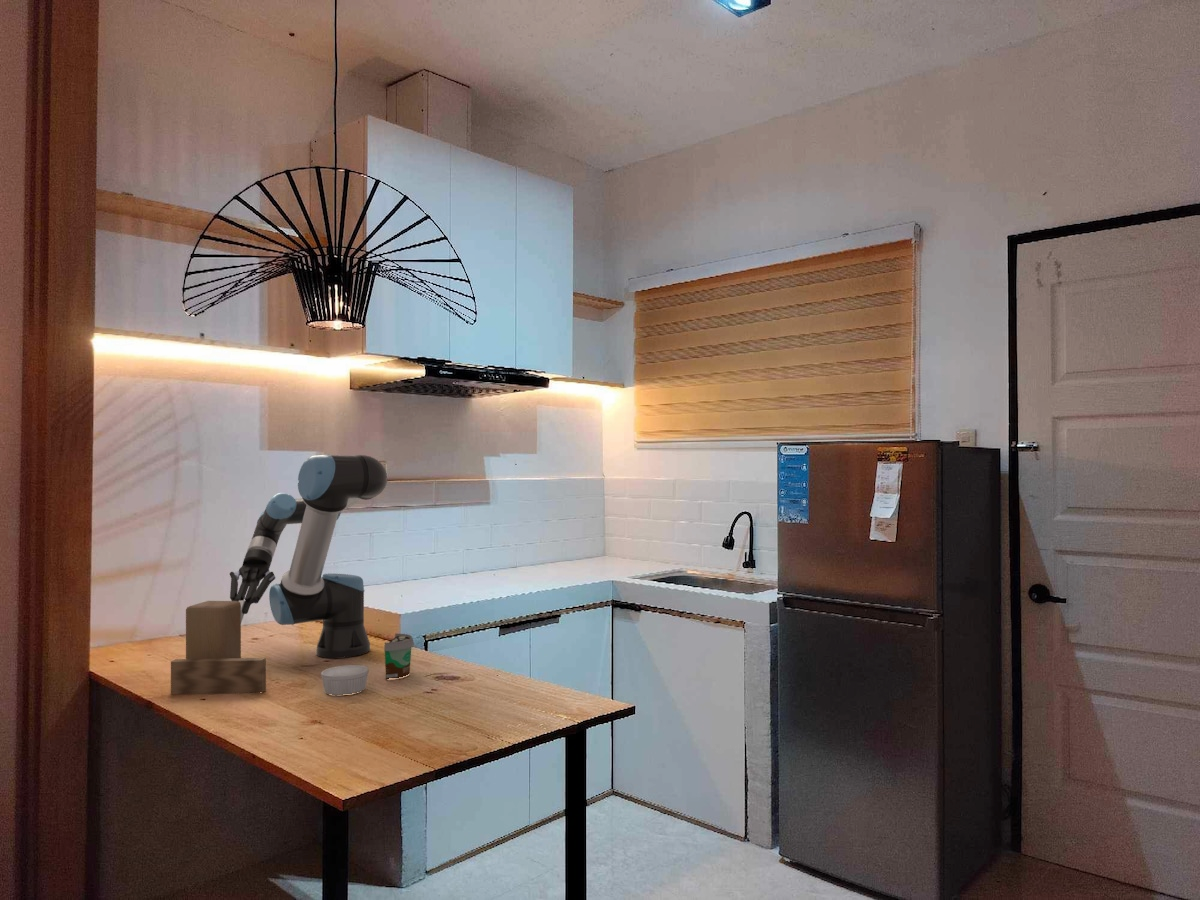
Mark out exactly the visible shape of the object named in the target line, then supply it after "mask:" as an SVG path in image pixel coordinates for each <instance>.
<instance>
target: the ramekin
mask: <svg viewBox="0 0 1200 900" xmlns="http://www.w3.org/2000/svg"><path fill="white" fill-rule="evenodd" d="M369 672H370V669H369V667H367V666H365V665H361V664H353V665H352V664H348V665H346V664H345V665H338V666H332V667H329V668H326V669H324V670H322V671H320V678H321V679H322V685H323V690H324V692H325V694H326V693H327V694H332V695H343V694H352V693H357V692H360V691H362V690H363V691H364V690H365V689H366V687H367V681H368V674H369ZM363 691H362V692H363ZM327 694H326V695H327Z"/></svg>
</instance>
